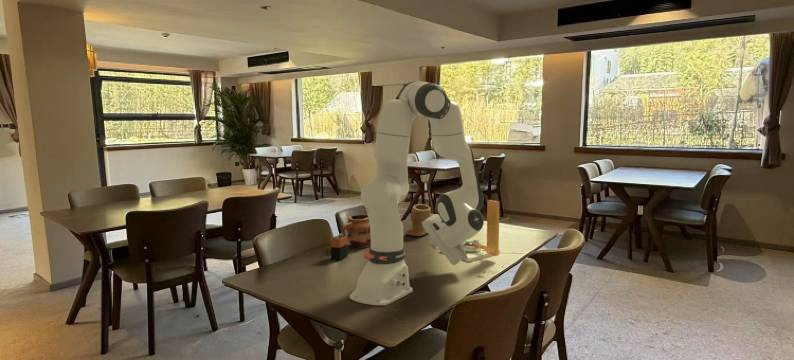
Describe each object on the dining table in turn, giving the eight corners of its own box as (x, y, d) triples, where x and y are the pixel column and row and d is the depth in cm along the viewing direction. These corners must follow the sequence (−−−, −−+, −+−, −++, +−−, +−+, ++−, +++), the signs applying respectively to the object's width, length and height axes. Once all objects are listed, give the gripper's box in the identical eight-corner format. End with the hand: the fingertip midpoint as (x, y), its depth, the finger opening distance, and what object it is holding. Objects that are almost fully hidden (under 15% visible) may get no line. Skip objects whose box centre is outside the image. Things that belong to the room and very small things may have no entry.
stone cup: (424, 239, 221) (424, 208, 219) (402, 236, 227) (402, 206, 225) (437, 232, 234) (437, 203, 232) (416, 229, 240) (416, 201, 238)
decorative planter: (353, 253, 198) (353, 222, 196) (334, 249, 206) (333, 218, 204) (383, 243, 214) (383, 214, 212) (364, 239, 221) (363, 211, 219)
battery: (348, 256, 194) (347, 233, 193) (339, 261, 188) (339, 237, 187) (339, 255, 196) (338, 232, 195) (330, 260, 190) (329, 236, 189)
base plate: (469, 262, 185) (469, 257, 185) (439, 251, 200) (439, 248, 200) (499, 253, 196) (499, 250, 196) (469, 244, 210) (469, 241, 210)
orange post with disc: (452, 248, 199) (453, 196, 196) (469, 244, 205) (469, 193, 202) (488, 260, 182) (489, 203, 179) (505, 255, 188) (506, 200, 185)
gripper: (474, 253, 169) (454, 263, 180) (440, 208, 171) (422, 221, 182) (464, 262, 165) (444, 272, 176) (429, 216, 167) (412, 229, 178)
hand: (433, 246), depth 179 cm, fingers closed
